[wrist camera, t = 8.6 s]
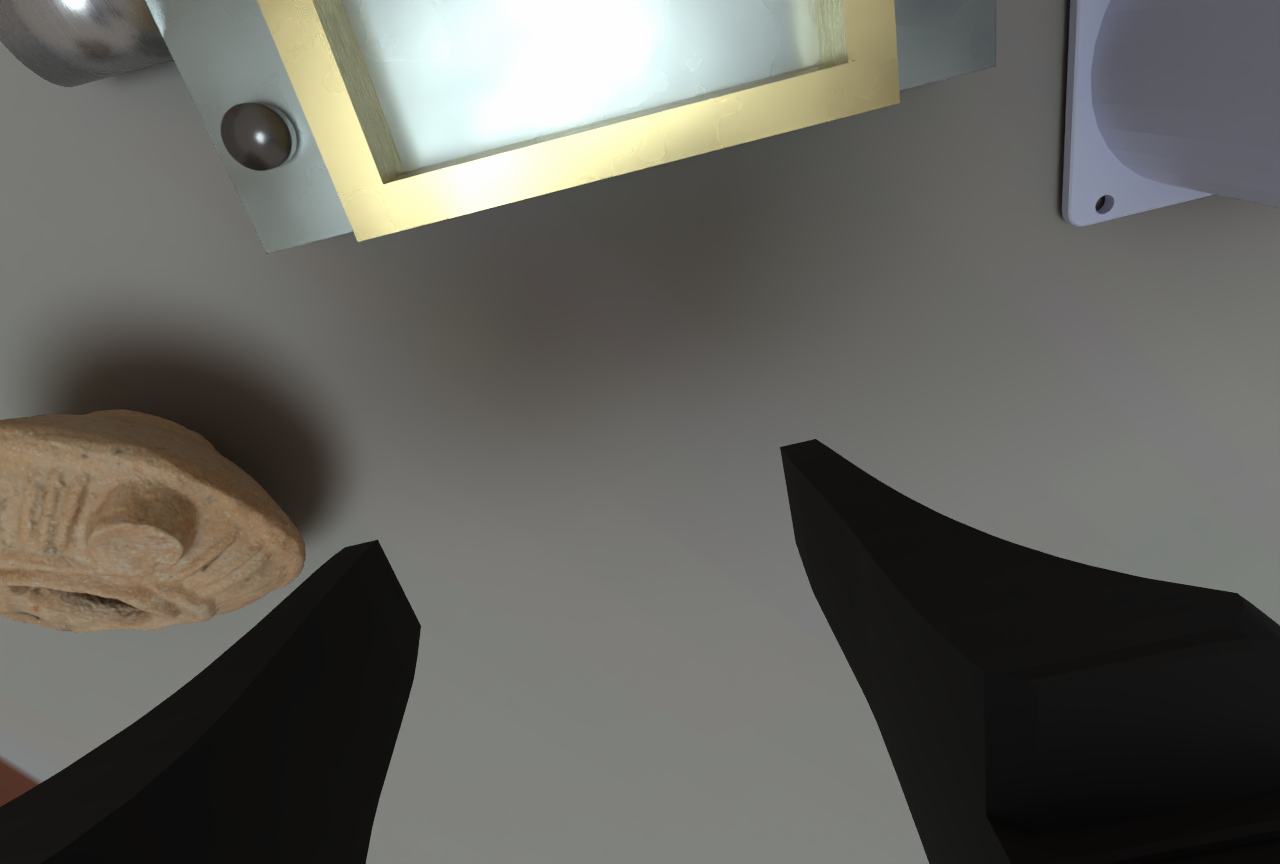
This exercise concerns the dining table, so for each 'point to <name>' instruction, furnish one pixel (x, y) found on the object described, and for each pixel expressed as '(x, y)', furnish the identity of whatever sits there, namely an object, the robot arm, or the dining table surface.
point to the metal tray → (491, 88)
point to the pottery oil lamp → (131, 525)
